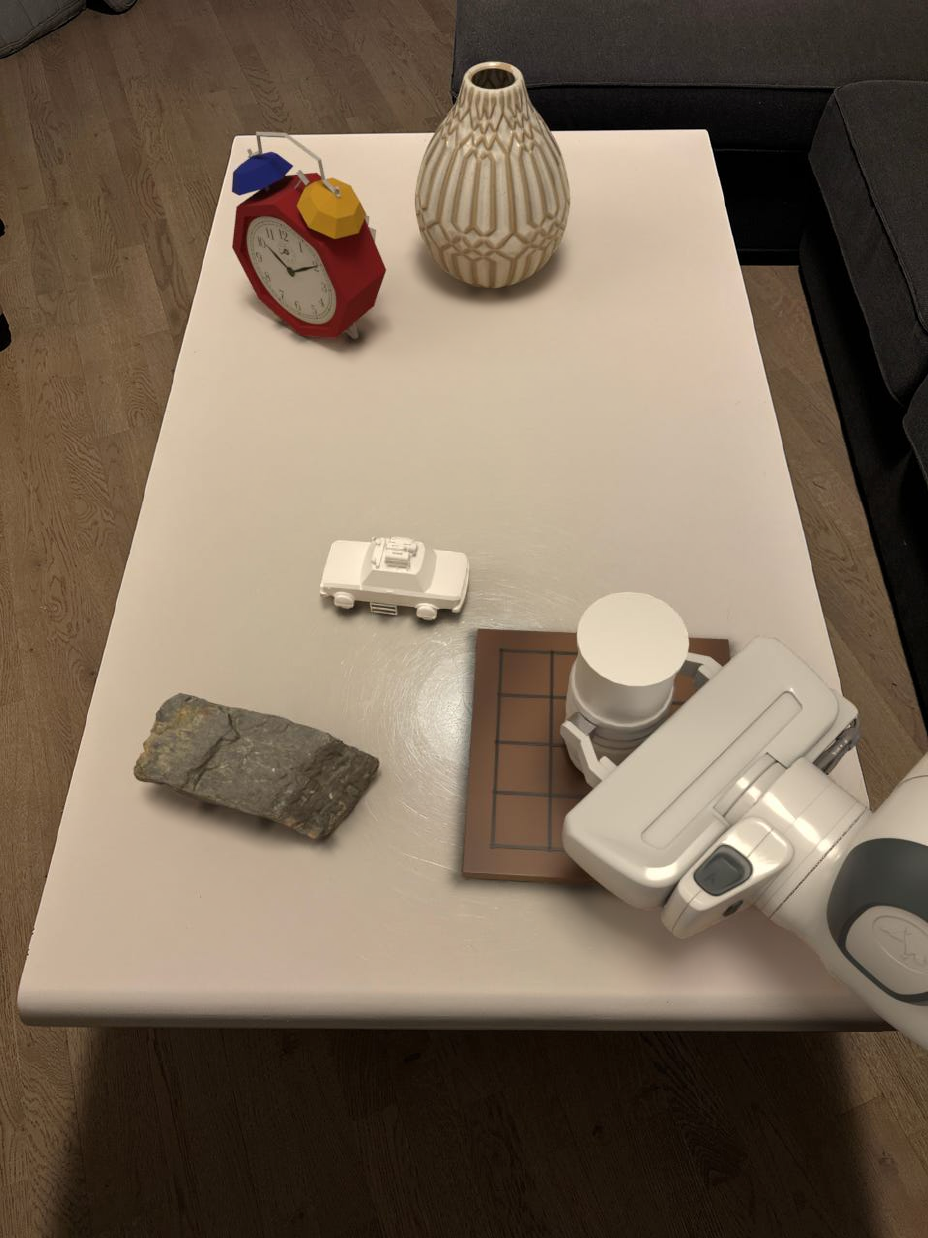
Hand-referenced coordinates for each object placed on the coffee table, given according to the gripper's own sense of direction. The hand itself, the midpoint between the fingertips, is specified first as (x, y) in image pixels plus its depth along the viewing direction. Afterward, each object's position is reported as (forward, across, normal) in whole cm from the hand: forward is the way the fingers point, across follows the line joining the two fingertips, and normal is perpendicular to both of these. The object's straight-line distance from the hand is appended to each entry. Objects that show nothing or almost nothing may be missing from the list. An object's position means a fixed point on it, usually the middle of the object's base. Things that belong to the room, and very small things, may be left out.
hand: (609, 684), depth 63 cm
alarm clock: (+53, -16, +10) cm, 57 cm away
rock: (+14, +20, +10) cm, 27 cm away
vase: (+47, -34, +10) cm, 59 cm away
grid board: (-1, 0, +10) cm, 10 cm away
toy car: (+21, +2, +10) cm, 23 cm away
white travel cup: (-1, 0, +8) cm, 8 cm away
